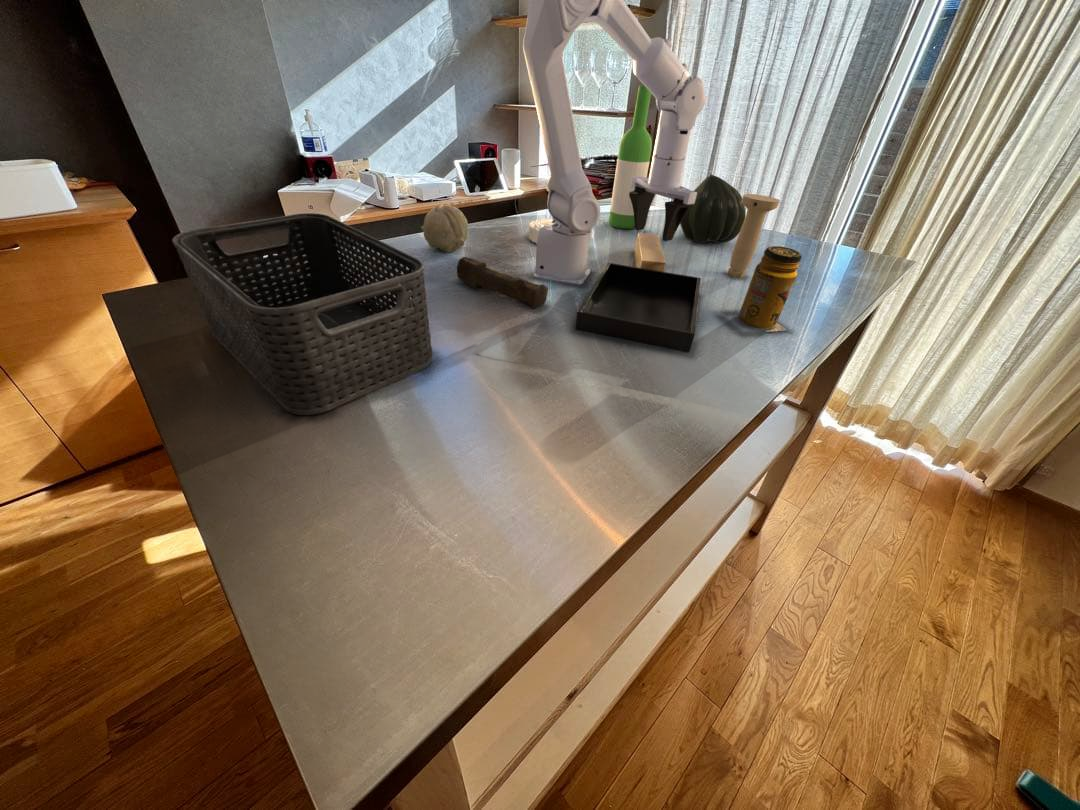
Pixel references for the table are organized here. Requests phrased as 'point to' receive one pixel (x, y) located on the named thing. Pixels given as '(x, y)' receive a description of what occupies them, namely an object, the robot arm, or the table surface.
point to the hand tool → (501, 282)
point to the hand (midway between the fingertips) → (652, 234)
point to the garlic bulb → (445, 228)
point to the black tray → (642, 307)
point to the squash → (714, 212)
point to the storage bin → (312, 308)
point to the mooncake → (537, 228)
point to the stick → (649, 252)
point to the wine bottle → (631, 163)
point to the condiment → (770, 288)
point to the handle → (750, 232)
